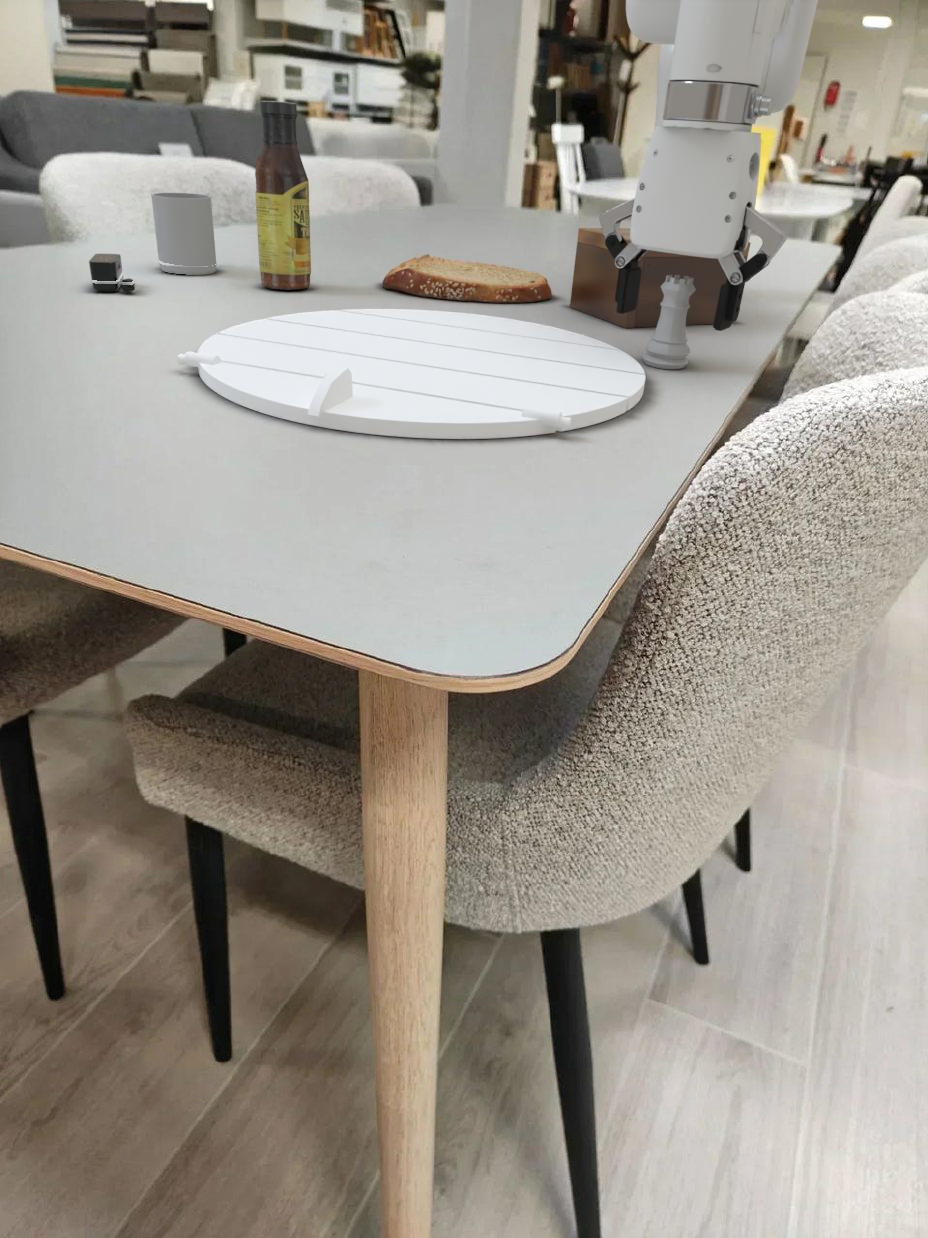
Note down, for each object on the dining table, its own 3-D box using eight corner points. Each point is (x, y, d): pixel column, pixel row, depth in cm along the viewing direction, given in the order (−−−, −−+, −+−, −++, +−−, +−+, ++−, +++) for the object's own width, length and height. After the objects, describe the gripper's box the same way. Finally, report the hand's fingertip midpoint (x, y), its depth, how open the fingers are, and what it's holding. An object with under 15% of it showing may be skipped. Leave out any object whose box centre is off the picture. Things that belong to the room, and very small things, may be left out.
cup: (155, 274, 109) (145, 196, 105) (169, 262, 118) (161, 189, 113) (213, 276, 110) (206, 199, 106) (223, 264, 119) (217, 192, 114)
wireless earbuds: (91, 293, 96) (86, 262, 95) (100, 282, 102) (95, 253, 101) (135, 294, 97) (131, 264, 96) (141, 283, 103) (137, 254, 102)
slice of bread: (563, 299, 111) (567, 268, 109) (456, 310, 100) (458, 276, 98) (473, 276, 122) (474, 248, 120) (368, 284, 112) (368, 253, 110)
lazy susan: (583, 479, 55) (590, 428, 54) (86, 388, 66) (79, 342, 64) (673, 352, 88) (680, 317, 86) (332, 305, 99) (331, 273, 97)
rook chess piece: (688, 372, 81) (705, 282, 77) (641, 367, 82) (655, 278, 78) (687, 361, 85) (703, 275, 81) (642, 356, 86) (655, 271, 82)
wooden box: (569, 306, 107) (578, 227, 102) (672, 303, 113) (685, 228, 109) (625, 328, 97) (638, 242, 93) (734, 322, 104) (750, 242, 99)
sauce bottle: (307, 293, 104) (300, 102, 94) (255, 289, 104) (243, 98, 94) (315, 284, 110) (310, 103, 100) (266, 281, 110) (256, 99, 100)
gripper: (824, 117, 72) (774, 329, 80) (633, 107, 79) (607, 301, 88) (800, 113, 66) (749, 341, 75) (597, 102, 74) (573, 310, 82)
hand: (672, 319), depth 81 cm, fingers open, 9 cm apart
